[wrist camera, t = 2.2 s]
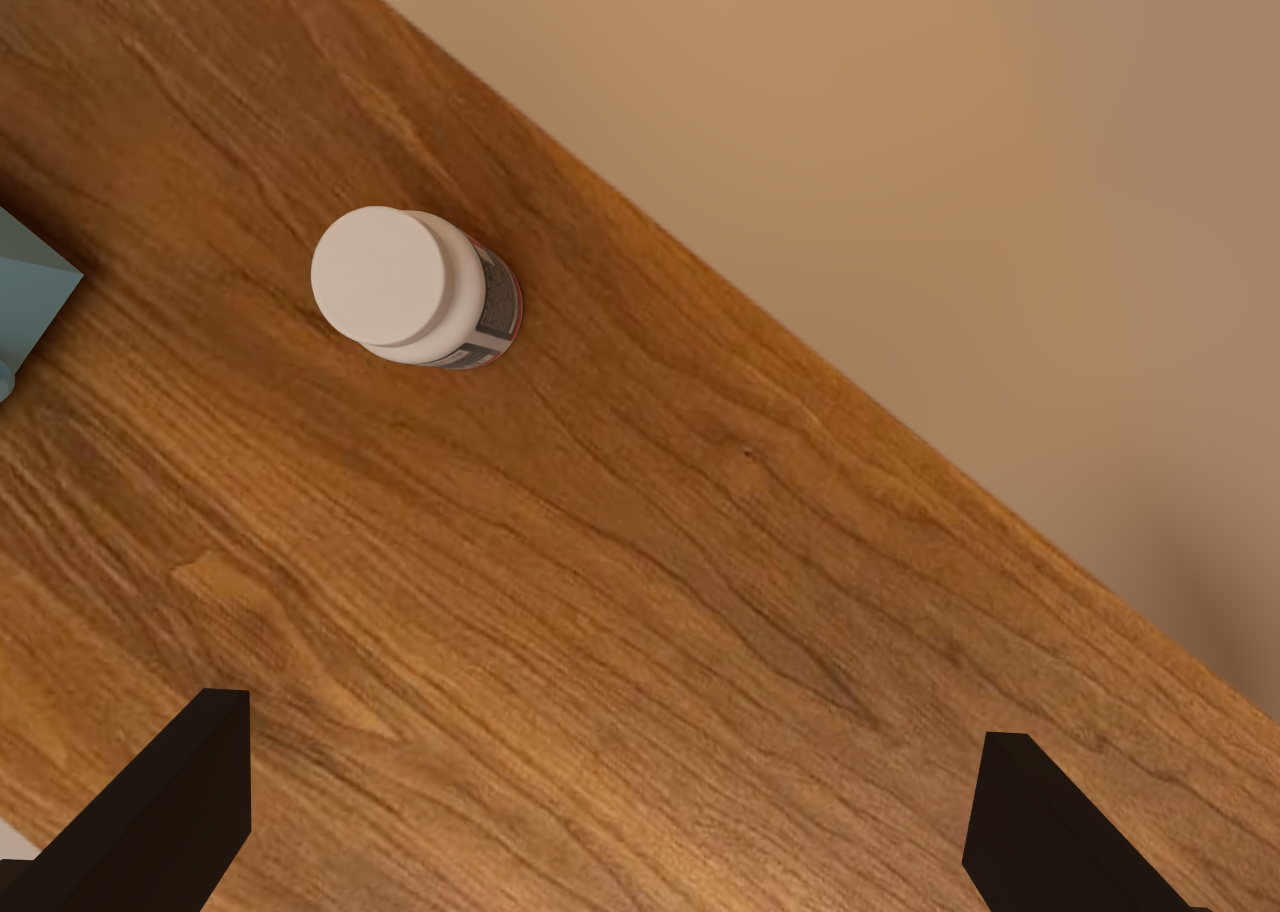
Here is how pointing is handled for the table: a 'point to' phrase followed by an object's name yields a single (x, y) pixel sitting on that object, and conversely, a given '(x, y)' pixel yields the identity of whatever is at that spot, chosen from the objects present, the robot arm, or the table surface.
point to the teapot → (27, 293)
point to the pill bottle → (415, 289)
